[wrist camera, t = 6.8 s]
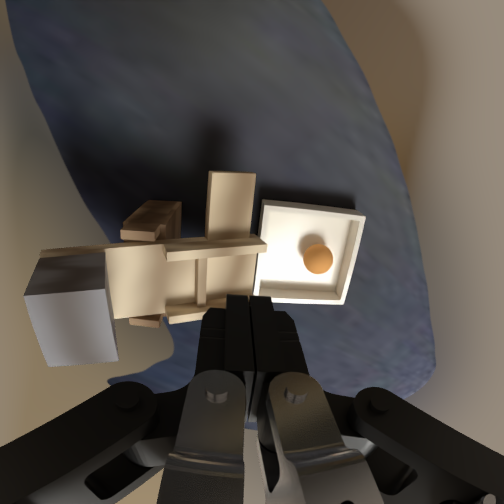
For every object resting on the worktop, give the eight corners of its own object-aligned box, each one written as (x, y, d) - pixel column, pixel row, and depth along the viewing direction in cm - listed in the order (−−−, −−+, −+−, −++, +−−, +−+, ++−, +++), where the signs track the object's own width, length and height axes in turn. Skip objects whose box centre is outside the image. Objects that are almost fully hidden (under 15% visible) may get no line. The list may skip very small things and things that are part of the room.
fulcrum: (149, 274, 36) (125, 323, 26) (148, 199, 32) (114, 229, 22) (180, 277, 36) (164, 328, 26) (181, 201, 32) (160, 232, 23)
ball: (302, 238, 34) (312, 250, 31) (328, 240, 35) (340, 251, 32) (297, 265, 36) (306, 279, 32) (323, 266, 36) (334, 279, 33)
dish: (261, 199, 33) (264, 205, 30) (356, 210, 34) (365, 216, 31) (251, 289, 37) (252, 301, 35) (336, 293, 38) (343, 304, 36)
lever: (56, 317, 23) (49, 369, 17) (34, 179, 18) (5, 200, 12) (247, 295, 31) (279, 334, 26) (261, 172, 26) (305, 188, 21)
